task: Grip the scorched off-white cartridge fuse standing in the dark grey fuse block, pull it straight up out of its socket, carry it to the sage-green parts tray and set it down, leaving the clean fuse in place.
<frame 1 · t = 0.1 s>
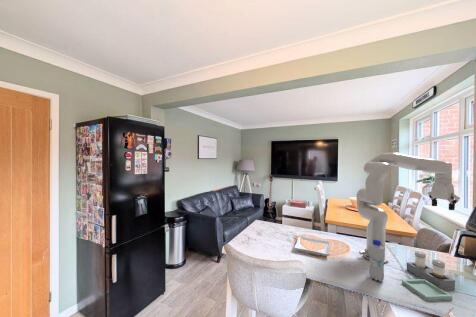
hand: (442, 207, 124), 31 cm above the table, fingers open, 9 cm apart
bottle: (376, 279, 100), on the table
blown fuse: (438, 284, 96), resting in fuse block
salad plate: (312, 249, 132), on the table
fuse block: (428, 278, 100), on the table
parts tray: (425, 291, 91), on the table
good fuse: (420, 273, 105), resting in fuse block
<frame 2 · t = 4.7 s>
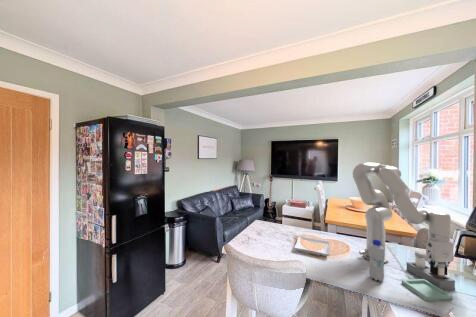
hand: (438, 273, 96), 5 cm above the table, fingers closed on blown fuse, 4 cm apart
blown fuse: (438, 284, 96), resting in fuse block, touching gripper
everything else where it was.
when the fingers open (8 cm above the table, at t = 11.2 s): blown fuse drops 2 cm, resting on parts tray.
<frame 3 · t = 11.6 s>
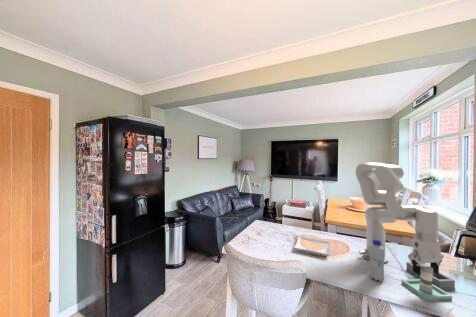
hand: (425, 272, 91), 9 cm above the table, fingers open, 8 cm apart
blown fuse: (425, 290, 90), point 1 cm above the table, touching parts tray
everything else where it was.
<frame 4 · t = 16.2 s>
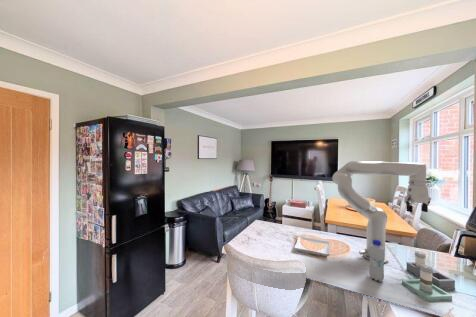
hand: (416, 211, 117), 30 cm above the table, fingers open, 9 cm apart
nothing on the table moved.
at the end: blown fuse inside the target area on the parts tray (0.2 cm from its centre), point 0.6 cm above the parts tray's base; the gripper is holding nothing; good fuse moved 0.0 cm from its start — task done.
